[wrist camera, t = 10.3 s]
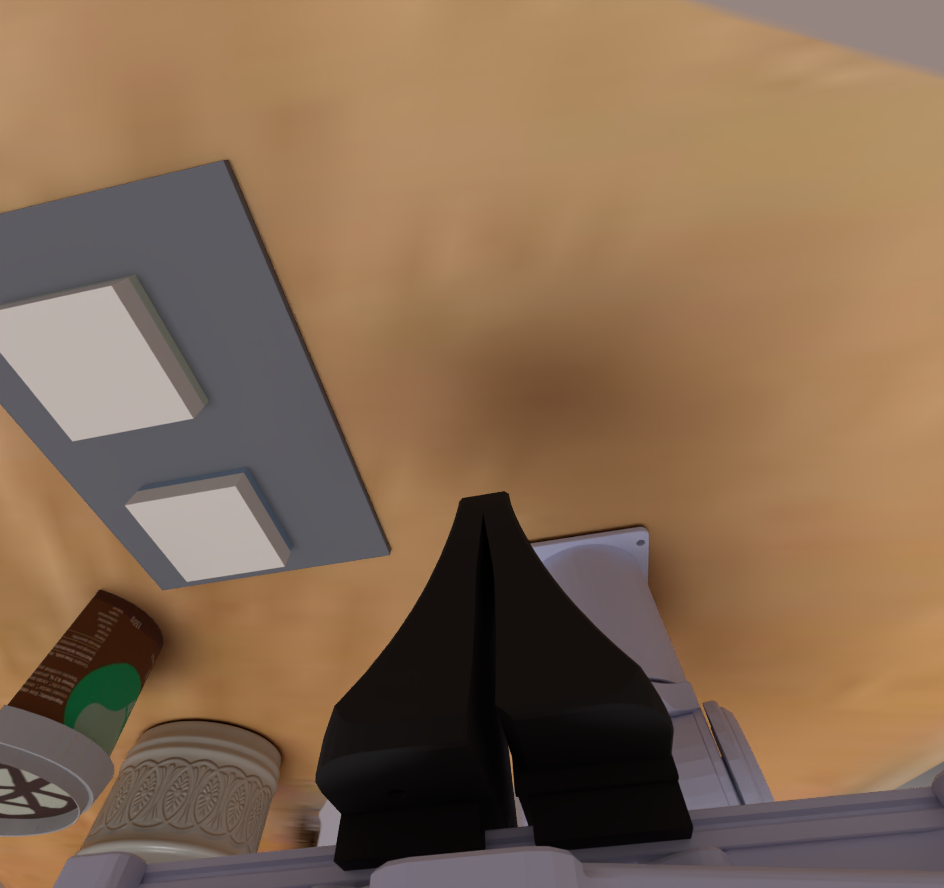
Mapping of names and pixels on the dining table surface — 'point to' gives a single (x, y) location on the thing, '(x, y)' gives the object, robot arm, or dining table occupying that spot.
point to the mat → (194, 364)
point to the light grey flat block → (212, 524)
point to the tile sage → (99, 359)
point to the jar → (189, 794)
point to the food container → (73, 717)
